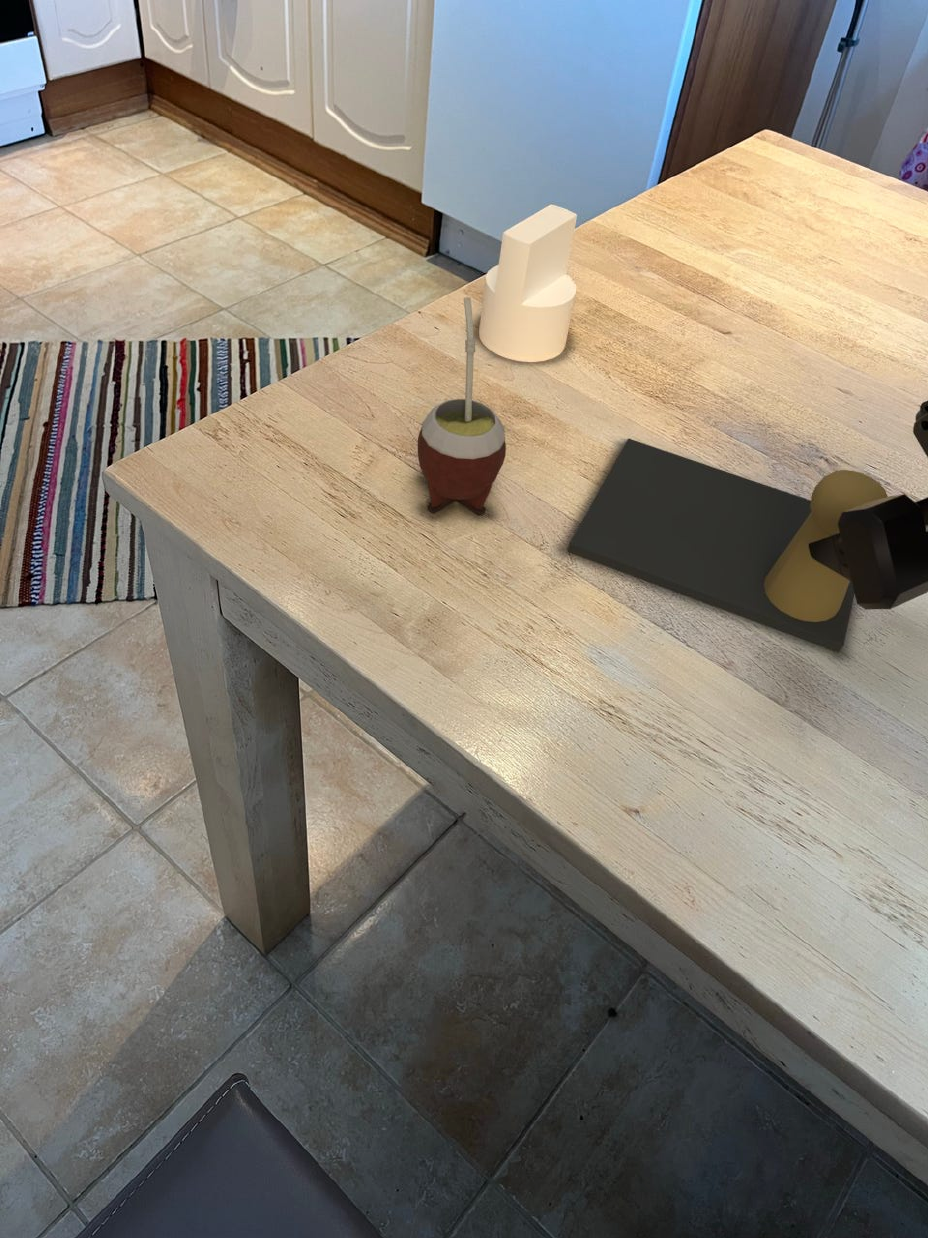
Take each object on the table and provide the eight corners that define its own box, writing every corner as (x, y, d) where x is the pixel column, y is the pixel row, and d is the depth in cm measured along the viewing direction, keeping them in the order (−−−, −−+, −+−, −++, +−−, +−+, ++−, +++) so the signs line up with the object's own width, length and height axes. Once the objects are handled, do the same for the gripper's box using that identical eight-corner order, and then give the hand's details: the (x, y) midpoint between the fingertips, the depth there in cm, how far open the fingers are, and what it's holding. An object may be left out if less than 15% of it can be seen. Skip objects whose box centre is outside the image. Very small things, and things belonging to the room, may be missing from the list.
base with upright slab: (509, 305, 101) (526, 192, 93) (581, 337, 99) (605, 224, 90) (461, 337, 96) (474, 221, 87) (536, 372, 93) (557, 256, 84)
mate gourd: (457, 536, 76) (478, 375, 65) (389, 487, 79) (397, 326, 68) (517, 497, 80) (546, 339, 69) (450, 452, 83) (467, 294, 72)
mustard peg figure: (837, 575, 76) (897, 467, 68) (843, 629, 72) (907, 521, 64) (763, 559, 76) (813, 450, 68) (764, 612, 72) (818, 503, 64)
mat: (865, 529, 82) (870, 520, 81) (838, 653, 72) (843, 644, 71) (625, 446, 86) (628, 437, 86) (567, 552, 76) (569, 543, 75)
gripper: (1145, 334, 56) (919, 393, 70) (937, 404, 49) (731, 453, 63) (1180, 516, 58) (952, 537, 72) (984, 610, 50) (772, 613, 64)
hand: (857, 532), depth 68 cm, fingers open, 9 cm apart
